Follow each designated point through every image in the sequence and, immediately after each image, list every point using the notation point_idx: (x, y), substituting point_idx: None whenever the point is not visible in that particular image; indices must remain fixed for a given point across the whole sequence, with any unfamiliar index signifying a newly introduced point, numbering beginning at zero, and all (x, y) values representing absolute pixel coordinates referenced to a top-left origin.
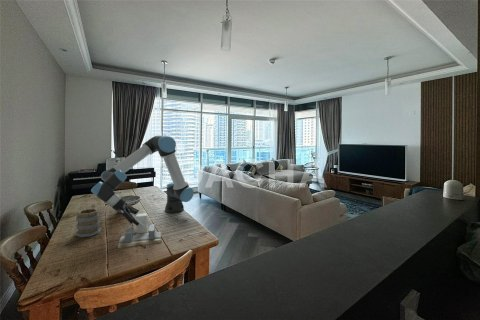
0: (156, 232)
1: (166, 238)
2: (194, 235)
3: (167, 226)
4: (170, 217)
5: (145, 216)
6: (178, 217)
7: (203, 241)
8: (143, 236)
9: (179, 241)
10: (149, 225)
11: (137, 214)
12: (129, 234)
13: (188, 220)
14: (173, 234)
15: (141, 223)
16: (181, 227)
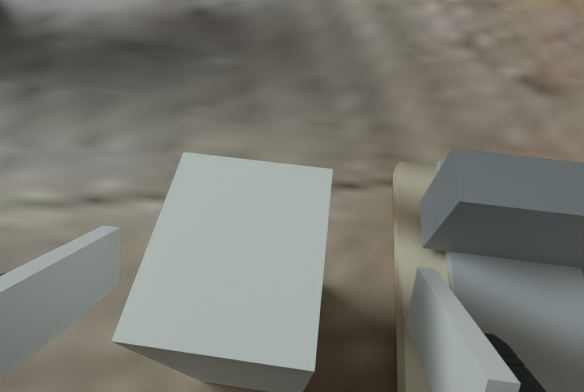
0: (411, 194)
1: (497, 152)
2: (477, 24)
3: (251, 116)
4: (58, 73)
5: (330, 191)
6: (105, 35)
7: (568, 10)
8: (524, 317)
9: (560, 95)
10: (492, 203)
11: (156, 328)
12: None
13: (211, 4)
14: (432, 106)
15: (447, 295)
16: (319, 51)
